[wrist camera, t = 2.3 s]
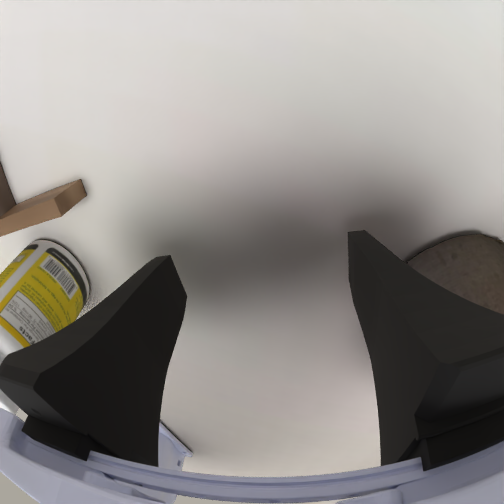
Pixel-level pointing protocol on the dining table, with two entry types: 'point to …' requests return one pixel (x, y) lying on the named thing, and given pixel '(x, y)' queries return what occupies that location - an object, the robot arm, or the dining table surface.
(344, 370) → the dining table surface
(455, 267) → the pillar candle
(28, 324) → the supplement bottle
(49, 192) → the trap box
